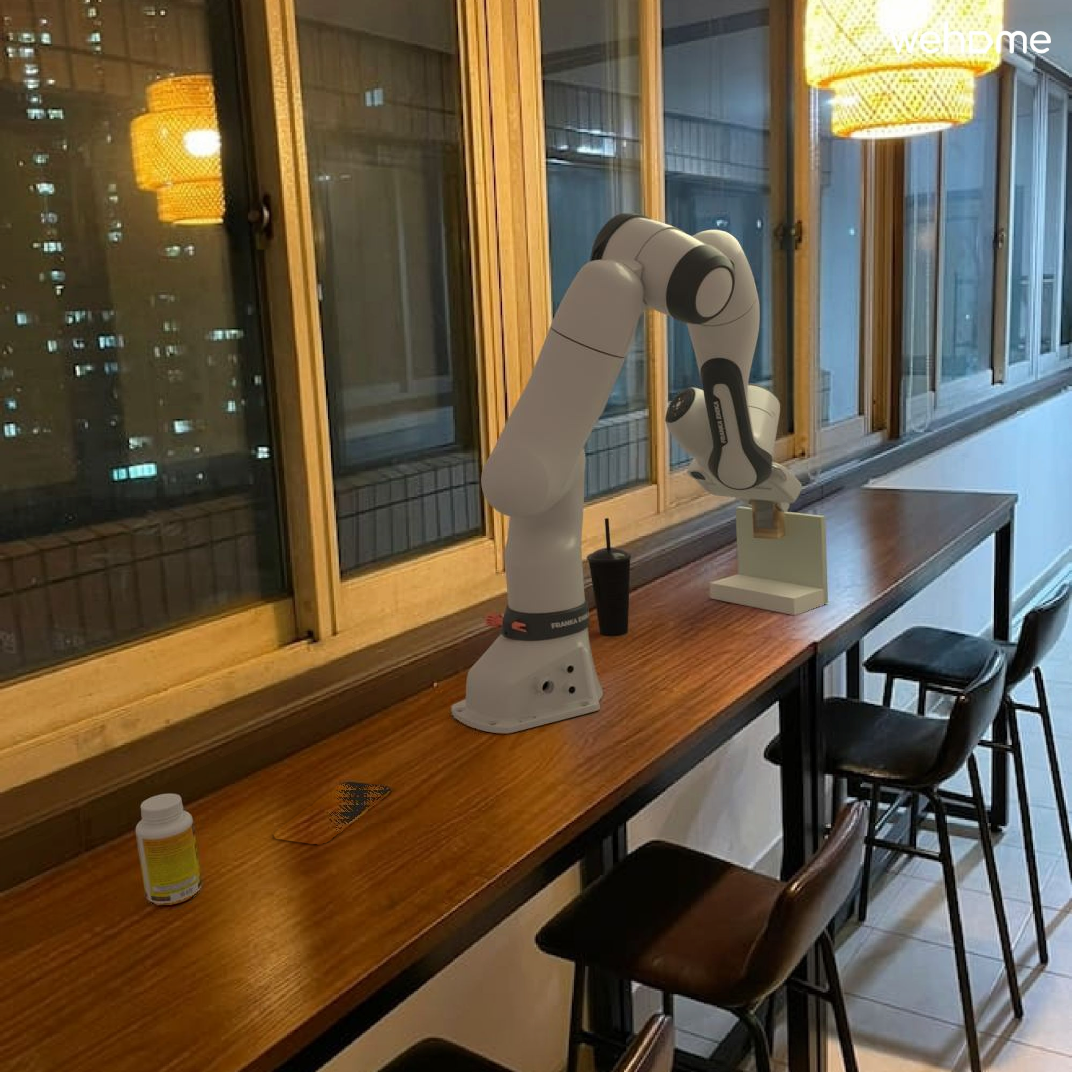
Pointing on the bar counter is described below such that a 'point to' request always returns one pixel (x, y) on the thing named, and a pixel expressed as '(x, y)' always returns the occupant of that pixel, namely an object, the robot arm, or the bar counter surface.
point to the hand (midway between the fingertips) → (770, 507)
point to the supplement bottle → (167, 850)
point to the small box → (767, 520)
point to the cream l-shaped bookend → (778, 566)
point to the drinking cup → (611, 586)
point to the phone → (360, 800)
